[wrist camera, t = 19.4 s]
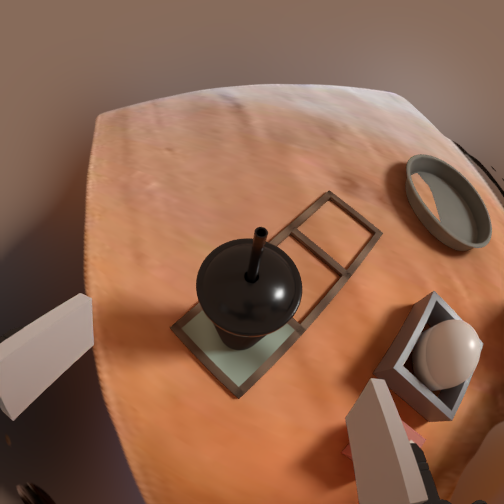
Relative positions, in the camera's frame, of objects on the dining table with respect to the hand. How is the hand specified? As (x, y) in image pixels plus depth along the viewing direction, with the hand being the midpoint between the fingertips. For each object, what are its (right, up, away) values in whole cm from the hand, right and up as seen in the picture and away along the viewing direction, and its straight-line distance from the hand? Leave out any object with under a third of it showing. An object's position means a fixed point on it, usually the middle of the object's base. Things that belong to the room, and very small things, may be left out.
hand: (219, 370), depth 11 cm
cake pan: (+42, +14, +37) cm, 58 cm away
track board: (+7, +2, +25) cm, 26 cm away
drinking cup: (0, -4, +20) cm, 21 cm away
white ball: (+26, -10, +19) cm, 34 cm away
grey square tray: (+26, -11, +20) cm, 34 cm away
